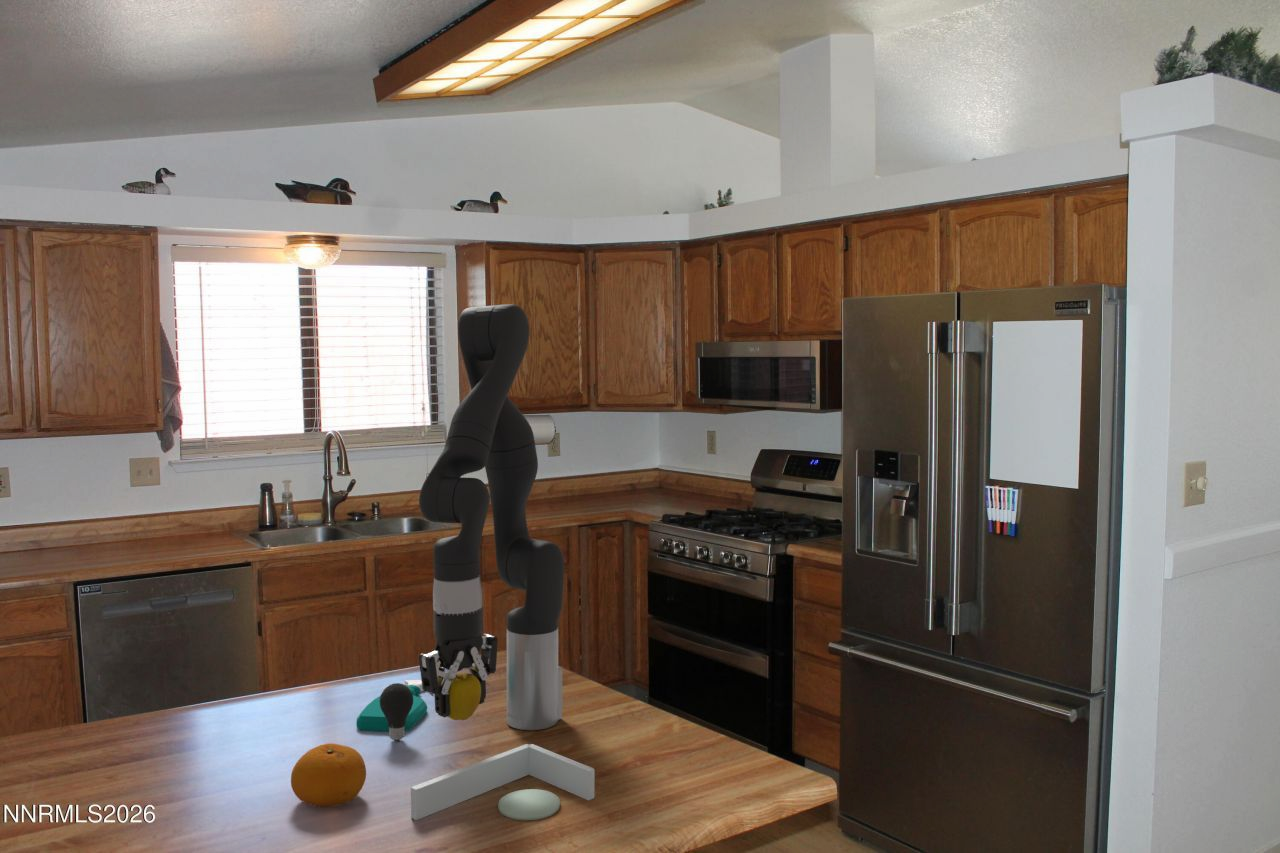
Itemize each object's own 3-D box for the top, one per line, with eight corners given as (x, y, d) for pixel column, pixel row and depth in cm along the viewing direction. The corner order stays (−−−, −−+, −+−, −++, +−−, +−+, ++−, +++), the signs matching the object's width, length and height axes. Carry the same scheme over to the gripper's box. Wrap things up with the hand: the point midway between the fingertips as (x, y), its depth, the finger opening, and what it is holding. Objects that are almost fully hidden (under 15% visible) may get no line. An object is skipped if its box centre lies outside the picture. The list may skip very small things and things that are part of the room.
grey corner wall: (529, 770, 163) (529, 742, 163) (594, 797, 153) (594, 768, 153) (411, 817, 146) (410, 787, 146) (475, 852, 137) (475, 819, 136)
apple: (432, 724, 158) (430, 674, 157) (454, 709, 164) (452, 661, 163) (468, 729, 156) (467, 679, 155) (489, 714, 161) (487, 665, 161)
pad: (531, 787, 157) (531, 783, 156) (572, 805, 151) (572, 801, 150) (485, 806, 150) (485, 802, 150) (526, 826, 144) (526, 822, 144)
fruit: (326, 823, 144) (325, 768, 144) (277, 805, 150) (276, 752, 149) (381, 796, 153) (380, 744, 153) (333, 780, 159) (332, 730, 158)
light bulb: (405, 748, 171) (404, 690, 170) (374, 745, 172) (373, 688, 171) (419, 736, 177) (418, 680, 176) (388, 733, 178) (388, 677, 177)
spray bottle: (350, 732, 179) (396, 688, 203) (411, 735, 178) (450, 690, 202) (350, 716, 179) (396, 673, 203) (411, 718, 178) (450, 675, 202)
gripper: (478, 591, 166) (480, 690, 167) (404, 610, 155) (408, 717, 157) (509, 599, 161) (511, 701, 162) (435, 620, 150) (439, 729, 152)
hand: (461, 708), depth 159 cm, fingers closed on apple, 6 cm apart
